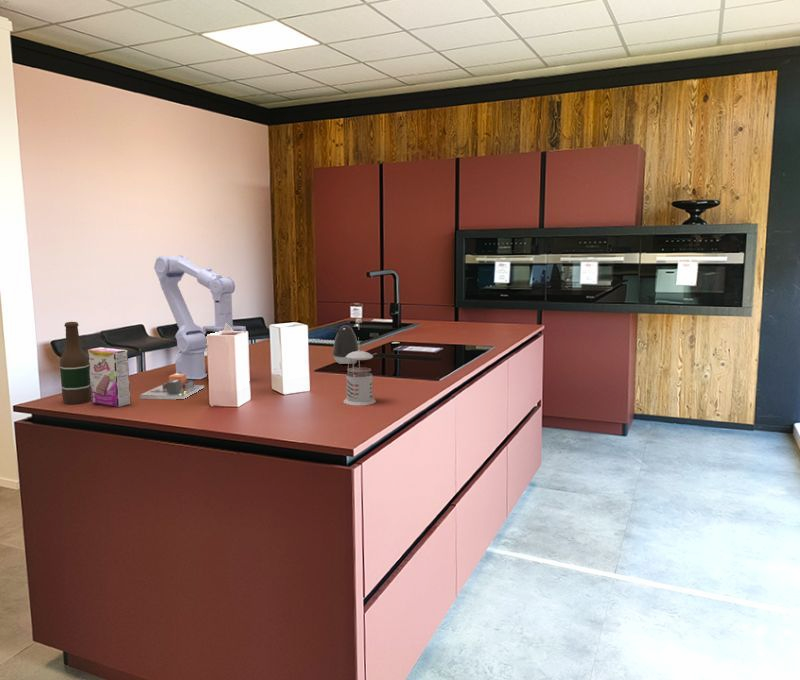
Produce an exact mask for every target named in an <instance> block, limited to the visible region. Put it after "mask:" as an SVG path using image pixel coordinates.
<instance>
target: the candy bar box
mask: <svg viewBox="0 0 800 680" xmlns="http://www.w3.org/2000/svg"><path fill="white" fill-rule="evenodd" d="M87 354H88V355H87V357H88V361H89V370H90V384H91V404H94V405H95V404H96V405H102V406H107V407H108V406H109V407H115V408H121V407H124V406H128V405H131V403H132V401H131V399H132V398H131V387H130V372H129V371H130V370H129V358H128V357H129V356H128V355H129V354H128V350H126V349H120V348H112V347H111V348H110V347H101V346H100V347H95V348H89V349H87Z"/></svg>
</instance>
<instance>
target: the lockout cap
mask: <svg viewBox="0 0 800 680" xmlns="http://www.w3.org/2000/svg"><path fill="white" fill-rule="evenodd" d="M171 380H181V389H182V388H183V385H184V384H186V383H187V381H188V379H186V374H180V373H176V372H175V373H173V374H171V375H169V376H168V382H169V381H171Z"/></svg>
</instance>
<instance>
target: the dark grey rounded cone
mask: <svg viewBox="0 0 800 680" xmlns="http://www.w3.org/2000/svg"><path fill="white" fill-rule="evenodd" d="M331 331H333V332H335V333H336V336H335V337H334V338H335V339H334V341H333V346H332V347H333V350H332V355H333V358H334V360H335V362H336V363H338V364H339V365H341V364H348V363H349V364H350V365H353V364H352V363H353V362H354V360H352V363H351V360H350V359H347V358H346V356H347V355H348V354H349V353H351V352H355V351H358V350H359V342H358V340H357V336H356V334H355V332H354V330H353V328H352V327H351V326H349V325H342V326H340V327H339V328H336V327H331ZM349 360H350V362H349ZM354 363H355V364H356V360H355V362H354Z"/></svg>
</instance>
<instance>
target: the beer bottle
mask: <svg viewBox="0 0 800 680" xmlns="http://www.w3.org/2000/svg"><path fill="white" fill-rule="evenodd" d="M64 327H65V347H64V348H65V349H64V350H63V353H61V356H60V359H59V370H60V382H61V384H60V386H61V394H62V395H61V396H62V402H63V403H64V404H67V405H80V404H85V403H88V402H90V401H92V395H91V382H90V369H89V356H88V355H87V353H86V352H85V351H84V350H83V349H82V346H81V340H80V333H79V329H78V327H79V323H78V322H77V321H67V322H65V323H64Z"/></svg>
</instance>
